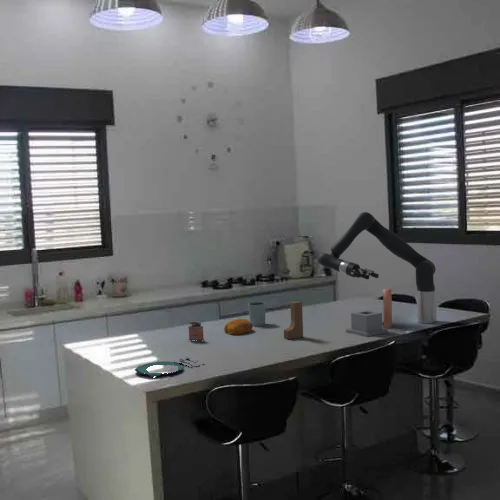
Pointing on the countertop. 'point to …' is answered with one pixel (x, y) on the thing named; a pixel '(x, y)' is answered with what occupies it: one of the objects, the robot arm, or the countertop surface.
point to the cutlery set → (142, 368)
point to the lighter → (195, 331)
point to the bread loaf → (238, 326)
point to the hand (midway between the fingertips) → (373, 277)
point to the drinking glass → (257, 313)
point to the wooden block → (295, 321)
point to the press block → (366, 323)
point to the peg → (387, 308)
